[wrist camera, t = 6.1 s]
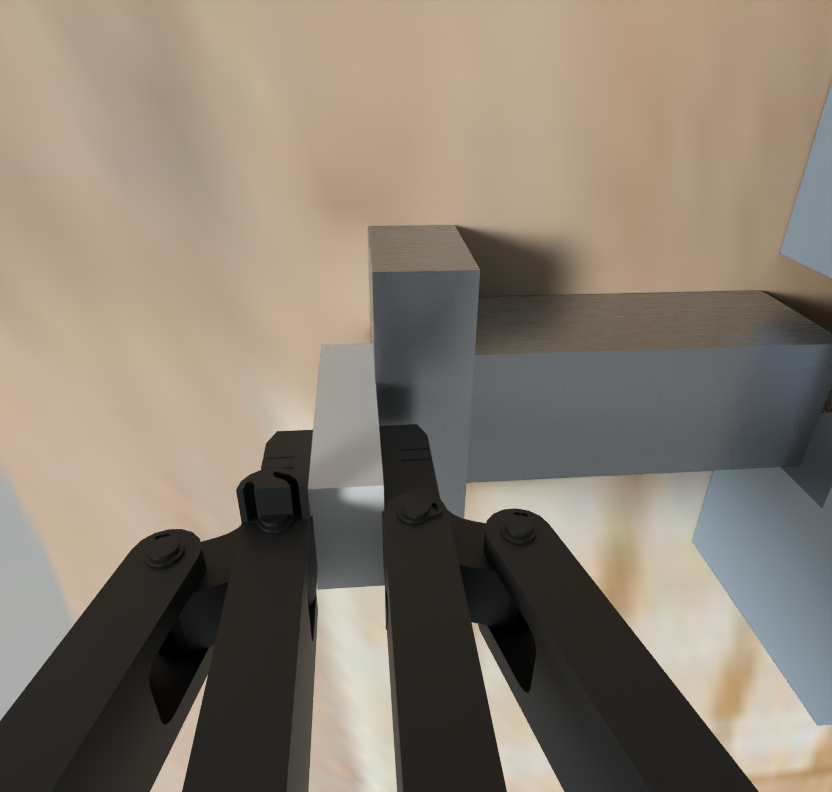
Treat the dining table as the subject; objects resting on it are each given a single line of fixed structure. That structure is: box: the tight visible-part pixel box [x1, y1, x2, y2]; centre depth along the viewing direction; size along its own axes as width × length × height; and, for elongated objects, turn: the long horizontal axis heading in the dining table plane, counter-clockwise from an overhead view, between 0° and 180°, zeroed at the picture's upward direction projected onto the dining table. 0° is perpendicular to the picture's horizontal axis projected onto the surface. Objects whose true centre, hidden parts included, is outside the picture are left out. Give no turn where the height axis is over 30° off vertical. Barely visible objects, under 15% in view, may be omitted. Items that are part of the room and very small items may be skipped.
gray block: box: [368, 225, 832, 519], centre depth 18 cm, size 8×12×4 cm
